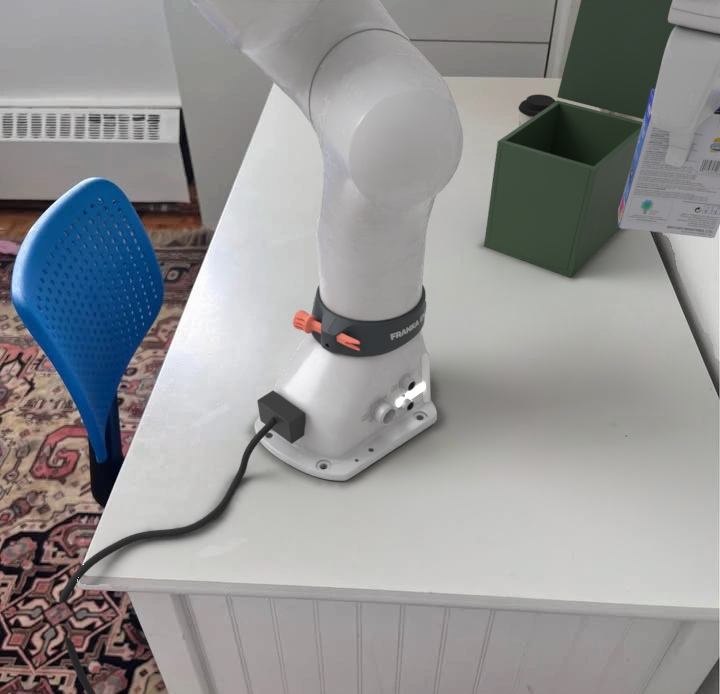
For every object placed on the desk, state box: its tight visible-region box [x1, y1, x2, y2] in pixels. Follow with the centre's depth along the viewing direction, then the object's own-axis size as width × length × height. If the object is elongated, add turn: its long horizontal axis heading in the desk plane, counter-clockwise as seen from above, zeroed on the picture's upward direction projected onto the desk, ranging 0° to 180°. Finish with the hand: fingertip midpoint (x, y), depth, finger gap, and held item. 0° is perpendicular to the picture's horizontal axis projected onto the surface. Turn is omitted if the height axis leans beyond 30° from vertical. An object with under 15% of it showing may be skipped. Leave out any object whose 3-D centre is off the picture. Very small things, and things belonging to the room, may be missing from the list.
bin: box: [483, 100, 643, 278], centre depth 106 cm, size 18×15×16 cm
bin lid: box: [556, 0, 676, 120], centre depth 98 cm, size 18×15×1 cm
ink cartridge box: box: [618, 89, 720, 239], centre depth 70 cm, size 10×6×14 cm, turn 78°
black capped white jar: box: [517, 94, 557, 127], centre depth 126 cm, size 7×7×10 cm
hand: (690, 149), depth 70 cm, fingers closed on ink cartridge box, 6 cm apart
